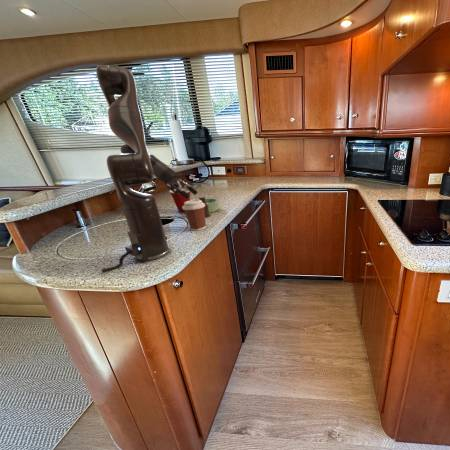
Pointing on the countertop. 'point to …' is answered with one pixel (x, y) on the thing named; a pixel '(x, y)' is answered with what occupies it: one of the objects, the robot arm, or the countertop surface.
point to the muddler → (205, 206)
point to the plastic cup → (180, 199)
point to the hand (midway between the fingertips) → (192, 195)
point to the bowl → (212, 204)
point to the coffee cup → (195, 214)
